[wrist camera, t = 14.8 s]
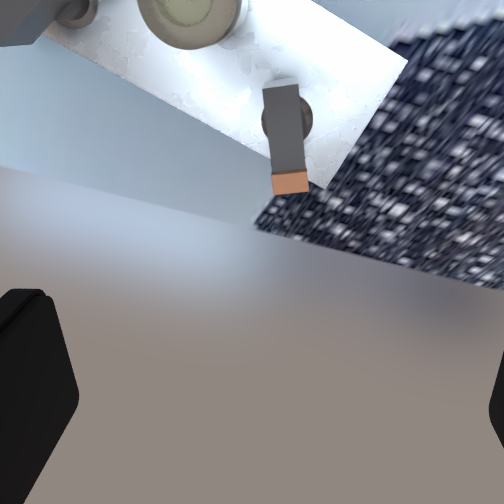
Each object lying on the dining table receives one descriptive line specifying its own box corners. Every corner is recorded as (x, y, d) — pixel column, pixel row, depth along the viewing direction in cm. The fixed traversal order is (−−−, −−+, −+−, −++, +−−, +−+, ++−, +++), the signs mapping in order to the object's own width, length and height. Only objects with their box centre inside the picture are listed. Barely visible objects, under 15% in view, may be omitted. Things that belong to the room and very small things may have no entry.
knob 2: (262, 77, 30) (255, 90, 24) (301, 72, 30) (304, 83, 24) (273, 165, 33) (269, 195, 27) (309, 160, 32) (313, 190, 26)
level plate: (-1, 4, 31) (-105, -3, 23) (37, -168, 26) (-76, -251, 18) (323, 182, 35) (333, 231, 27) (403, 59, 30) (443, 72, 22)
